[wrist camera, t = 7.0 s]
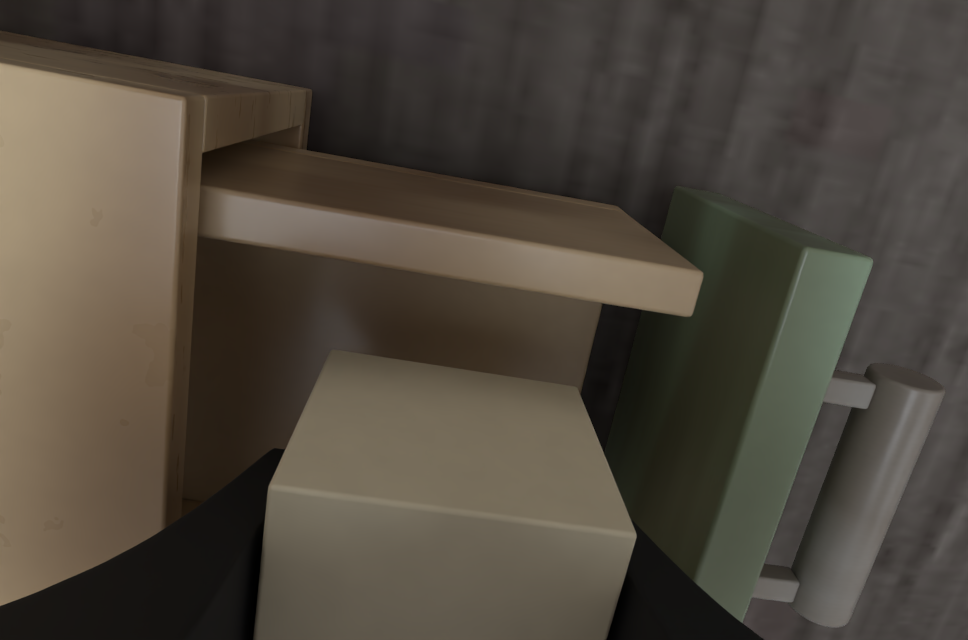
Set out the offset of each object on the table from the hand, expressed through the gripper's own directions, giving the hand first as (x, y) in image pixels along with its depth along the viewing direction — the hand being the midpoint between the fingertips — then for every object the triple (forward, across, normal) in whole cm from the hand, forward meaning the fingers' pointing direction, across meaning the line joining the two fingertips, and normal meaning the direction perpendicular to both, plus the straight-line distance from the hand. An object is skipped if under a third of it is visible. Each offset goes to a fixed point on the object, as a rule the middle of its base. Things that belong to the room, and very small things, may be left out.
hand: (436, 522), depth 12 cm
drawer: (+7, -1, 0) cm, 7 cm away
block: (+1, 0, 0) cm, 1 cm away
